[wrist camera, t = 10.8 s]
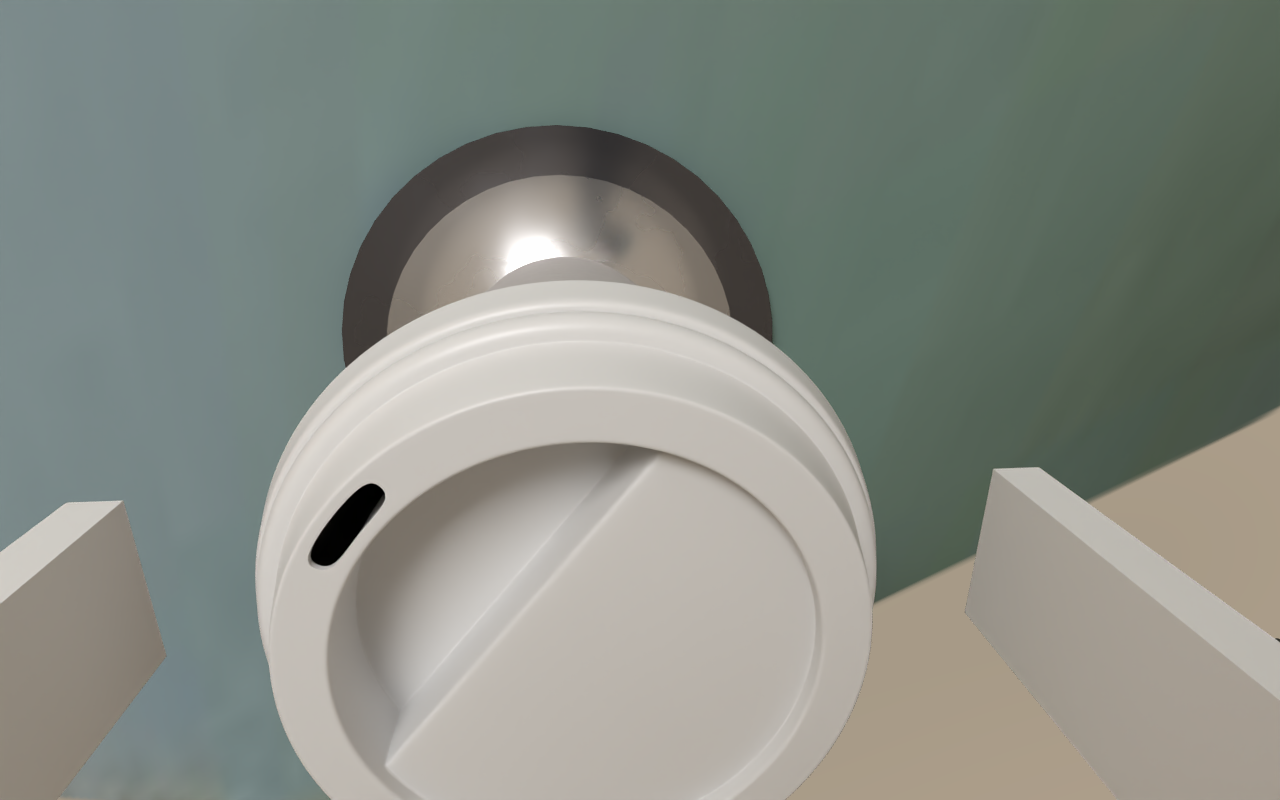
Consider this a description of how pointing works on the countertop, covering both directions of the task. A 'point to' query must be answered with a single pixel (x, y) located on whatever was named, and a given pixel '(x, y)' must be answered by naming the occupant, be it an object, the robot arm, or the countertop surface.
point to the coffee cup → (567, 556)
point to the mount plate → (549, 229)
